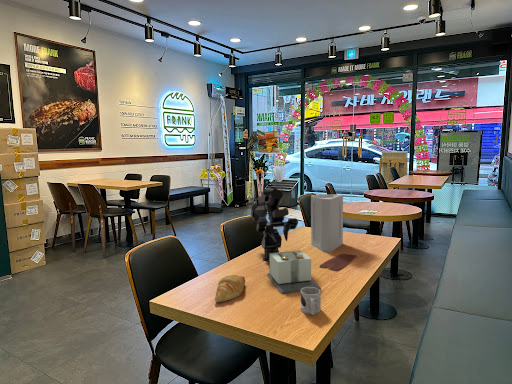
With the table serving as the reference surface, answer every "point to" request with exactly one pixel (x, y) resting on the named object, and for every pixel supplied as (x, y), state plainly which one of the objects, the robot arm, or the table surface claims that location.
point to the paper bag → (327, 221)
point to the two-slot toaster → (290, 267)
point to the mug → (310, 300)
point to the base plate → (293, 285)
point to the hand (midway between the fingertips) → (281, 241)
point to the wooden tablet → (338, 262)
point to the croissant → (229, 288)
